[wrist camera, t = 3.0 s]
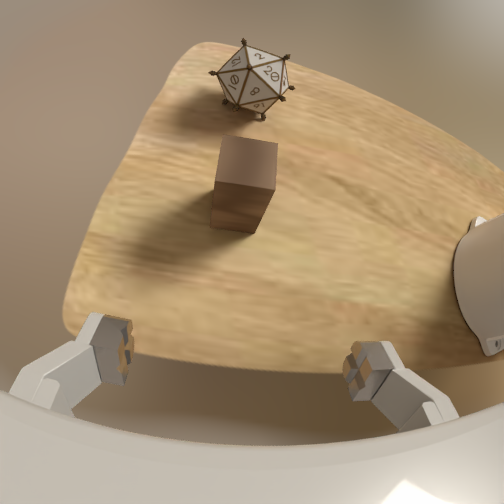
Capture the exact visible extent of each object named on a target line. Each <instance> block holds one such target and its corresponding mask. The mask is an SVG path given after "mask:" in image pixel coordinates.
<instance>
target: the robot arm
mask: <svg viewBox="0 0 504 504" xmlns="http://www.w3.org/2000/svg"><path fill="white" fill-rule="evenodd" d="M454 282H455V289H456V295H457V299H458V303H459V306H460V309H461V312H462V314H463V316H464V318H465V320H466V322H467V324H468V325H469V327H470V328H471V330H472V331H473V332H474V333H475V334H476V335H477V337H478V338H479V340H480V343H481V346H482V349H483V351H484V353H485V355H486V356H491V355H494V354H496V353H498V352H500V351H501V350H503V349H504V213H503V214H501V215H499V216H497V217H495V218H492V219H490V220H488V221H487V220H485V219H484V218H482V217H480V216H478V217H476V218H474V219H473V220H472V222H471V226H470V230H469V232H468V233H467V234H466V235H465V236H464V237H463V238H462V239H461V241H460V243H459V245H458V247H457V250H456V254H455V260H454ZM132 330H133V325H132V321H131V320H130V319H125V318H120V317H115V316H111V315H106V314H105V315H104V314H100V313H96V312H91V313H90V314H89V316H88V317H87V319H86V321H85V323H84V325H83V327H82V328H81V330H80V332H79V334H78V336H77V338H76V340H75V341H69V342H68V343H66V344H64V345H62V346H60V347H59V348H57V349H55V350H53V351H52V352H50V353H48V354H46V355H44V356H43V357H41V358H39V359H37V360H36V361H34V362H32V363H30V364H28V365H27V366H25V367H23V368H22V369H21V371H20V373H19V375H18V376H17V378H16V380H15V382H14V384H13V386H12V388H11V390H10V392H9V393H7V392H5V391H2V390H0V504H504V402H502V403H500V404H497V405H495V406H492V407H489V408H487V409H484V410H481V411H478V412H475V413H473V414H469V415H466V416H463V417H459V415H458V414H457V412H456V410H455V408H454V406H453V404H452V402H451V401H450V399H449V397H448V396H446V395H445V394H443V393H442V392H441V391H439V390H438V389H437V388H435V387H434V386H432V385H431V384H430V383H428V382H427V381H425V380H424V379H423V378H421V377H420V376H418V375H417V374H416V373H414V372H413V371H411V370H410V369H406V368H405V367H404V365H403V363H402V361H401V359H400V358H399V356H398V354H397V352H396V350H395V349H394V347H393V345H392V343H391V342H389V341H356V342H355V343H353V345H352V347H351V351H352V353H351V354H350V355H348V356H347V357H346V359H345V361H344V363H343V376H344V379H345V380H346V381H347V382H348V383H350V385H349V387H348V390H349V393H350V396H351V398H352V401H366V400H371V402H372V403H373V404H374V405H375V406H376V407H377V408H378V409H379V410H380V411H381V412H382V413H383V414H384V415H385V416H386V417H387V418H388V419H389V420H390V421H391V422H392V423H393V424H394V425H395V426H396V427H397V428H398V429H399V431H398V432H397V433H396V434H391V435H386V436H380V437H374V438H367V439H361V440H353V441H345V442H335V443H324V444H310V445H291V446H290V445H288V446H248V445H226V444H211V443H201V442H191V441H183V440H175V439H168V438H162V437H155V436H149V435H144V434H139V433H133V432H129V431H124V430H120V429H115V428H111V427H107V426H103V425H99V424H95V423H91V422H88V421H84V420H81V419H77V418H75V417H74V415H73V413H72V411H71V409H72V408H73V407H74V406H75V405H77V404H78V403H79V402H80V401H81V400H82V399H83V398H84V397H86V396H87V395H88V394H89V393H90V392H92V391H93V390H94V389H95V388H96V387H97V386H98V385H100V384H101V383H102V382H106V383H112V384H116V385H122V386H124V384H125V381H126V377H127V375H128V366H127V365H128V364H130V363H131V361H132V358H133V352H134V337H133V336H132V335H131V332H132Z"/></svg>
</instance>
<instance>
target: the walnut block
mask: <svg viewBox="0 0 504 504" xmlns="http://www.w3.org/2000/svg"><path fill="white" fill-rule="evenodd" d="M277 150H278V143H272V142H267V141H261V140H255V139H249V138H243V137H237V136H230V135H223V137H222V143H221V148H220V154H219V160H218V165H217V171H216V177H215V184H214V193H213V202H212V212H211V222H210V228H218V229H225V230H232V231H240V232H247V233H255V231H256V229H257V227H258V225H259V223H260V221H261V219H262V217H263V215H264V213H265V211H266V208H267V206H268V204H269V202H270V200H271V198H272V196H273V194H274V192H275V188H276V170H277Z"/></svg>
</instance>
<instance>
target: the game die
mask: <svg viewBox="0 0 504 504" xmlns="http://www.w3.org/2000/svg"><path fill="white" fill-rule="evenodd" d="M241 42H242V44H243V47H242V48H241V49H240V50H238V51H237V52H236V53H235V54H234V55H233V56H232V57H231V58H230V59H229V60H228V61H227V62H226V63H225V64H224V65H223V67H222V68H221V69H220V70H219V71H218V72H215V71H211V72H208V73H209V74H211V76H212V75H213V76H214V75H217V77H218V80H219V82H220V85H221V87H222V89H223V92H224V94H225V97H226V99H224V100H223V102H222V104H226V103H227V102H228V101H229V102H231V103H232V104H234V105H236V106H234V107H233V112H235V111H238V109H239V108H238V107H240V108H244V109H247V110H250V111H254V112H257V113H260V114H261V119H263V120H264V121H265V118H266V117H265V116H266V115H265V114H264V113H265V112H266V111H267V110H268V109H269V108H270V107H271V106H272V105H273V104H274V103H275V102H276V101H277V100H278V99H280V100H281V102H282V101H286V99H285V97H283V96H282V95H283V94H284V93H285V92H286V91H287V89H290V90H294V89H295V88H294V86H289V83H288V77H287V71H286V65H285V60H288V59H289V58H290V54H289V55H286V56H284V57H283V58H282V57H279V56H276V55H274V54H271V53H268V52H266V51H263V50H260V49H256V48H254V47H251V46H248V45H246V43H247V42H246V40H245V39H244V38H243V39H242V41H241Z"/></svg>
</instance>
